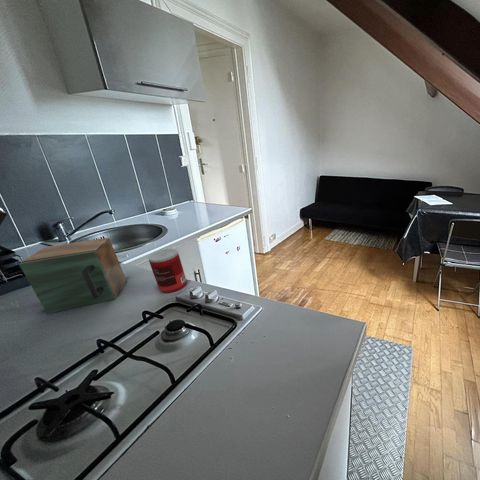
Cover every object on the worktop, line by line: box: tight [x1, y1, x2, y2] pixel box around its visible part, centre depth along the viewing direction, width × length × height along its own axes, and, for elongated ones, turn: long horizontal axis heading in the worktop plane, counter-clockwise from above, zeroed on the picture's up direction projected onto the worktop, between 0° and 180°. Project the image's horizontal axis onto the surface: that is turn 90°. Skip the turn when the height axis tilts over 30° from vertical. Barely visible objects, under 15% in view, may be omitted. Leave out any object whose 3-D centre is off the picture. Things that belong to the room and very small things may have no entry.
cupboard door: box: [18, 251, 116, 315], centre depth 68 cm, size 5×16×15 cm, turn 110°
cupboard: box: [21, 237, 128, 299], centre depth 75 cm, size 10×16×16 cm, turn 109°
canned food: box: [148, 248, 187, 294], centre depth 78 cm, size 8×8×11 cm
